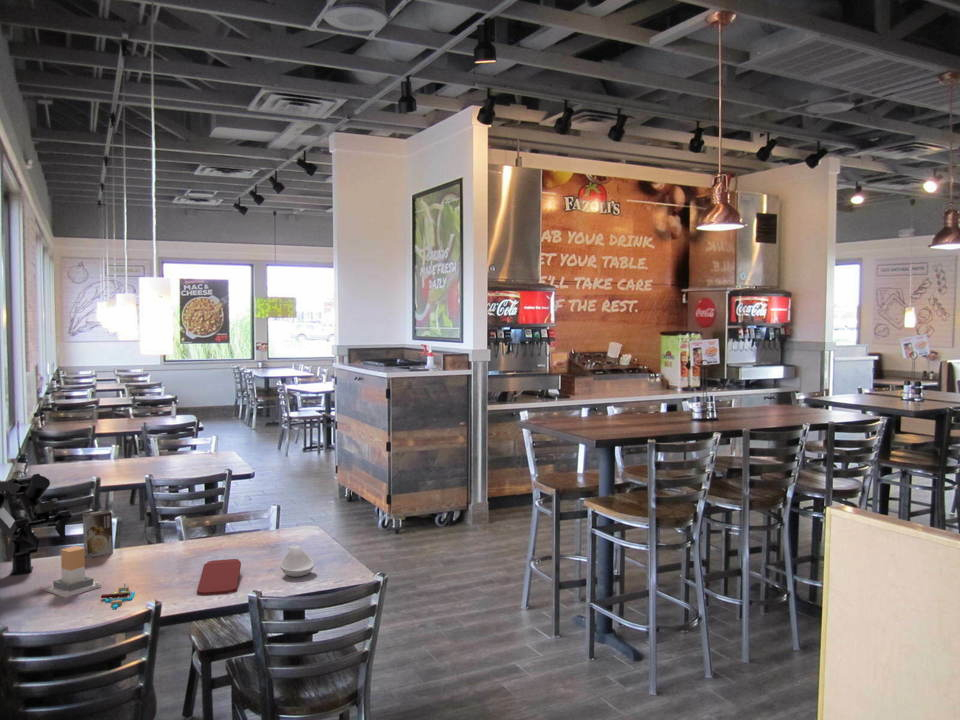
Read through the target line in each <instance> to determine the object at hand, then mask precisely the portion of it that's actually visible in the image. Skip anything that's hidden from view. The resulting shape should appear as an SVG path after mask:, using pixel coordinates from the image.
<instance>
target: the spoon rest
mask: <svg viewBox="0 0 960 720" xmlns="http://www.w3.org/2000/svg"><path fill="white" fill-rule="evenodd" d="M314 567H315V561H314V560H313V559H312V558H311V557H310V556H309V554H307V553H306V552H305V551H304V549H302V547H301V546H300V545H299V544H297V545H296V546H295V545H293V546H292V545H289V548H288V551H287V553H286V555H285V556H284V557H283V558H282V560H281V562H280V566H279V568H280V570H281V572H282V573H284V574H285V575H287V576H289V577H291V578H292V577H293V578H294V577H295V578H296V577H297V578H298V577H304V576H306V575H308V574H309V573H310V572H312V571H313V569H314Z"/></svg>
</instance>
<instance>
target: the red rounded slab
mask: <svg viewBox="0 0 960 720" xmlns="http://www.w3.org/2000/svg"><path fill="white" fill-rule="evenodd" d="M241 567H242V562H241V560H239V559H238V558H232V559H229V558H228V559H227V558H226V559H214V560H210V561H207V562H206V563H205V564H203V567H202V571H201V574H200V579H199V582H198V586H197V589H196V595H200V596H201V595H202V596H208V595H209V596H210V595H222V594H230V593H235V592H237V591H238V586H239V585H238V584H239V579H240V573H241Z"/></svg>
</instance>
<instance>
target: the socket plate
mask: <svg viewBox="0 0 960 720" xmlns="http://www.w3.org/2000/svg"><path fill="white" fill-rule="evenodd" d="M52 583H53V584H49V585H47V586H46V587H45V588H44V589H45V590H44V591H45V592H48V593H51V594H54V595H57V596H60V597H63V598H68V597H72V596H75V595H79V594H81V593H85V592H89V591H91V590H95V589H98V588H101V587H102V583H100V582H99V581H94V577H93V578H92V577H91V576H87V575H85V580H83V581H80V582H77V583H73V584H70V585H68V584H65V583H62V578H60V579H56V580H53V581H52Z"/></svg>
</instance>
